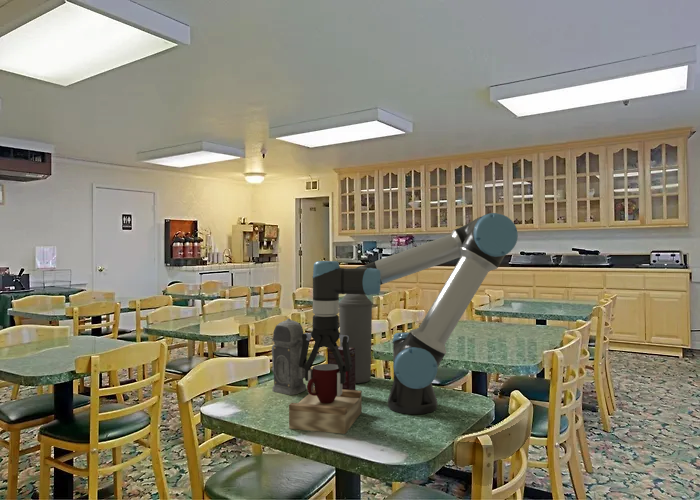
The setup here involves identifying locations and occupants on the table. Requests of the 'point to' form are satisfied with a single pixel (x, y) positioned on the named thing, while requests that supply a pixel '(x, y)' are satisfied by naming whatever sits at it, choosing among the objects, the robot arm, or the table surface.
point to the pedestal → (326, 413)
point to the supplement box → (350, 374)
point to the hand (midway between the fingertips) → (325, 393)
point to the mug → (324, 382)
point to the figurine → (287, 358)
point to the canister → (357, 331)
